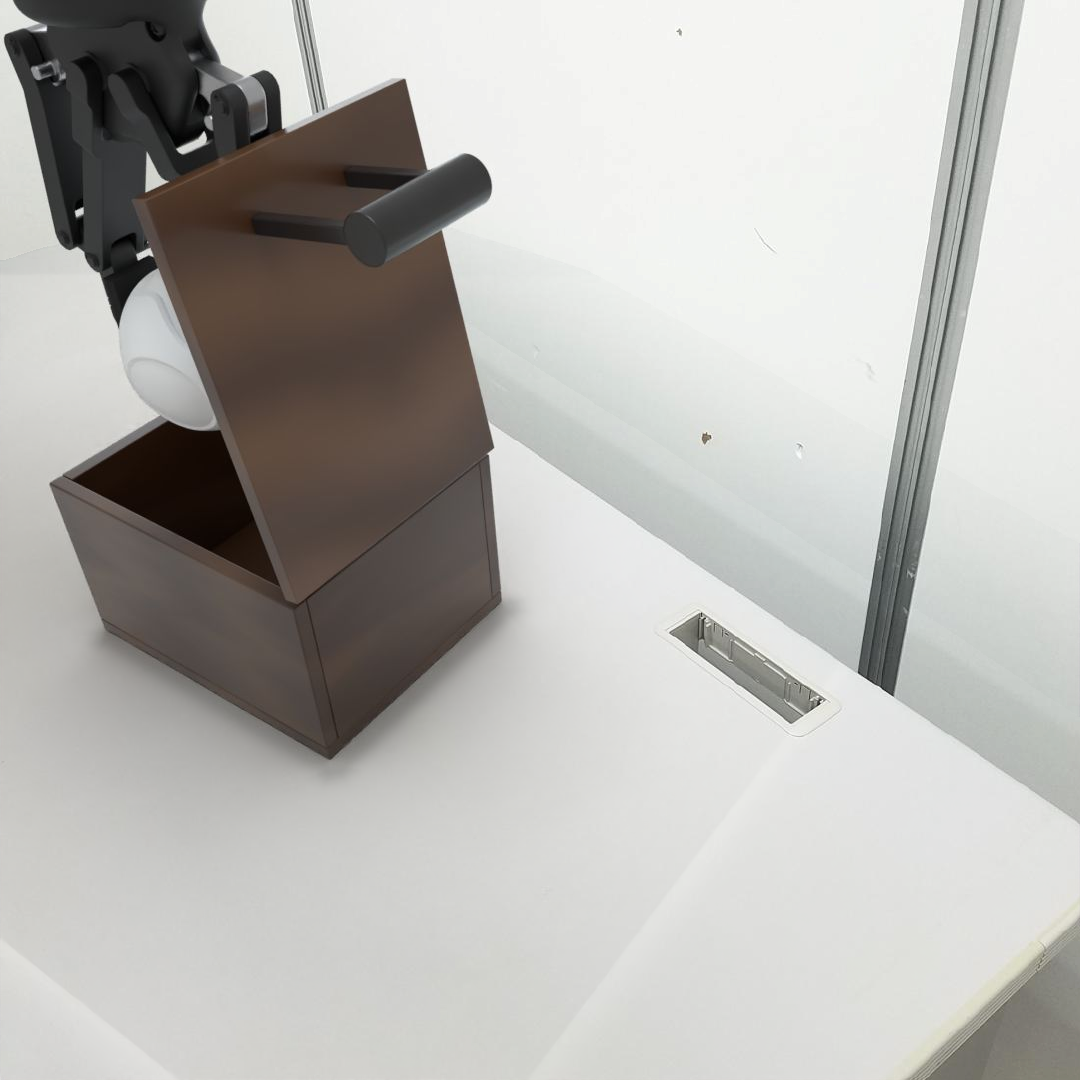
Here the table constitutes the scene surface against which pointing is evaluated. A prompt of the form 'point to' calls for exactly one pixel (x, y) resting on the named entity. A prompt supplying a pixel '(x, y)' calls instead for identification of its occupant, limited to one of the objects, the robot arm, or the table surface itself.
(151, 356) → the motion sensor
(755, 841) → the table surface
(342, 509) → the compartment door
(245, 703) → the compartment
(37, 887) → the table surface
